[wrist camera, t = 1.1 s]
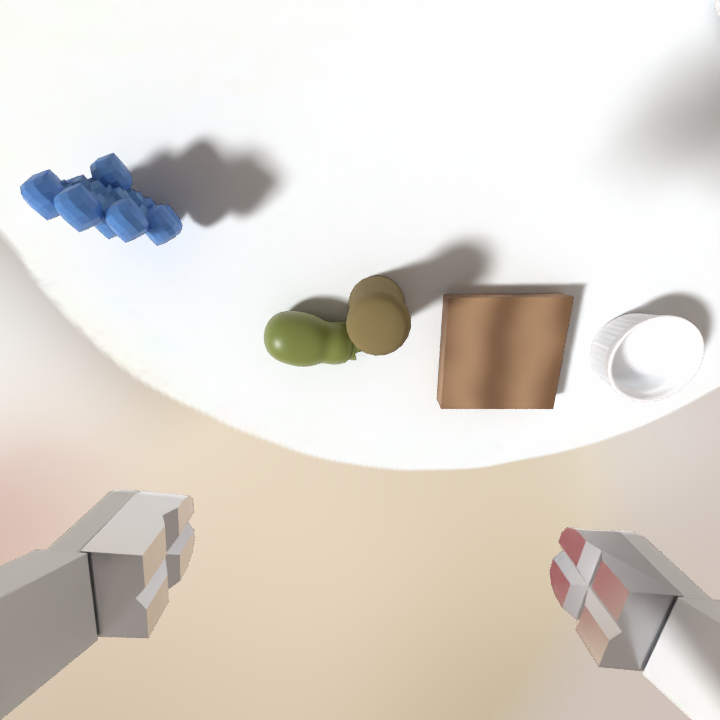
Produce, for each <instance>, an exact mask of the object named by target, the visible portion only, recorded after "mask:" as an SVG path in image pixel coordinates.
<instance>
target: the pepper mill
mask: <svg viewBox="0 0 720 720" xmlns="http://www.w3.org/2000/svg"><path fill="white" fill-rule="evenodd" d="M348 304H349V311H348V315H347V319H346V327H347V333H348V335H349V337H350V340H351V341H352V342H353V343H354V344H355V346H356V347H357V348H358V349H360V350H362V351H363V352H365V353H367V354H371V355H375V356H376V355H386V354H389V353H392V352H394V351H395V350H397V349H398V348H399V347H401V346H402V345H403V343H404V342H405V340H406V339H407V337H408V335H409V332H410V328H411V317H410V314H409V311H408V308H407V306H406V305H405V298H404V295H403V293H402V290H401V289H400V287H399V286H398V285H397V284H396V283H395V282H394V281H392V280H391V279H389V278H387V277H383V276H370V277H368V278H365V279H363V280H361V281H360V282H359V283H358V284H357V285H355V287H354V288H353V290H352V292H351V293H350V297H349V302H348Z"/></svg>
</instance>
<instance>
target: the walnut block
mask: <svg viewBox="0 0 720 720" xmlns="http://www.w3.org/2000/svg"><path fill="white" fill-rule="evenodd" d="M573 299H574V297H572V296H568V295H564V294H560V293H559V294H457V295H443V310H442V326H441V342H440V357H439V373H438V389H437V401H438V403H439V405H440V407H441V409H553V407H554V401H555V396H556V391H557V385H558V380H559V374H560V369H561V364H562V358H563V353H564V347H565V342H566V337H567V331H568V326H569V321H570V315H571V310H572V304H573Z"/></svg>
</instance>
